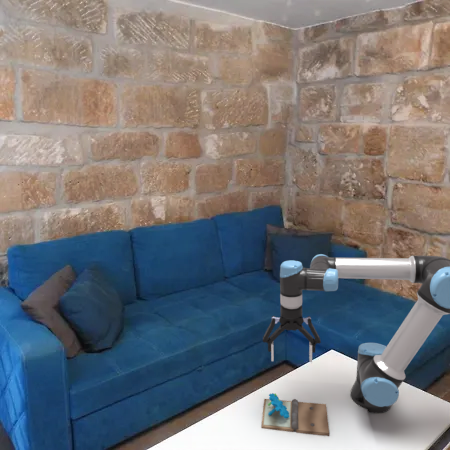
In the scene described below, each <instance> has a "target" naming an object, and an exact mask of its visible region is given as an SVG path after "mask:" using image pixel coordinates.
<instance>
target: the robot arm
mask: <svg viewBox="0 0 450 450" xmlns="http://www.w3.org/2000/svg"><path fill="white" fill-rule="evenodd" d="M309 264H310V265H309V268H308V267H304V266H303V263H302V262H301V261H298V260H294V259H293V260H290V259H289V260H285V261H283V262H282V263H281V264H280V266H279V267H280V270H279V284H280V285H279V287H280V289H279V291H280V293H279V298H280V316H279V317H276V316H275V315H272V316H271V321H270V323H269V326H268V327H267V329H266V331H265V333H264V335H263V336H262V342H263V343H266V344H267V351H268V352H270V353H271V355H270V356H271V359H270V360H271V362H274V359H275V357H274V356H275V355H274V351H275V350H274V341H275V340H276V339H277V338H278V337H279V336H280V335H281V333H282V332H284V331H285V330H286V331H293V332H294V331H297V330H298V331H299V332H300V333H301V334H302V335H303V336H304V337H305V338H306V340H308V341H309V351H308V355H309V357H308V359H309V362H310V363H313V353H316V346H317V344H321V343H322V342H321V337H320V336H319V334H318V332H317V330H316V328H315V326H314V324H313V323H312V322H313V321H312V318H311V316H310V315H309V316H307V317H303V291H319V292H336V291H337V290H338V289H339V279H353V280H354V279H355V280H359V279H362V280H364V279H365V280H397V281H398V280H399V281H402V280H403V281H409V282H410V283H412V284H421V285H420V287H419V288H418V290H417V291H416V296H417V301H416V302H415V303H414V305H413V306H412V308H411V310H410V311H409V312H408V314H407V315H406V317H405V318H404V320H403V321H402V323H401V324H400V326H399V328H398V329H397V331H396V332H395V333H394V335H393V336H392V338H391V340H390V341H389V343H388V344H387V345H384V344H381V343H377V342H365V343H361V344H360V345H359V346H358V351H357V364H356V375H355V377H356V378H355V381H354V383H353V385H352V388H351V390H350V399H351V400H352V402H354V403H355V404H356V405H358V406H359V407H361V408H363V409H366V411H367V412H368V413H372V414H381V413H385V412H387V411H389V410H391V407H392V405H394V404H395V403H396V402H397V401H398V400H399V395H400V391H399V388H400V386H401V385H402V383H403V382H404V381H405V379H406V374H405V370H406V369H407V367H408V366H409V364H410V363H411V361H412V360H413V359H414V357H415V356H416V354H417V353H418V351H420V348H422V347H423V344H424V343H425V342H426V340H427V338H428V337H429V336H430V335H431V333H432V331H433V330H434V329H435V328H436V326H437V325H438V323H439V321H440V320H441V318H442V317H443V316H444V315H450V259H449V258H446V257H444V256H438V255H411V256H409V257H408V258H405V257H404V258H401V257H398V258H396V257H394V258H393V257H390V258H389V257H388V258H387V257H381V258H380V257H332V256H331V257H329V256H328V255H326V254H322V253H320V254H316V255H315V256H314V257H312V260H311V262H310V263H309ZM278 323H280V324H279V326H278V328H276V330H275V331H274V332H273V329H274V328H275V325H276V324H278ZM303 323H305V325H307V326H308V328H309V330H310V331H311V333H312V335H311V334H310V333H309V331H308V330H307V329H306V328H305V327H304V326H303ZM272 332H273V333H272ZM271 333H272V334H271Z"/></svg>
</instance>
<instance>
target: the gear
mask: <svg viewBox="0 0 450 450" xmlns="http://www.w3.org/2000/svg"><path fill="white" fill-rule="evenodd" d="M268 396H269V397H268V399H270V400H271V402H270V403H269V404H268V406H270V405H271V404H272V405H273V406H274V409H273V410H271V411H270V412H269V413H268V414H269V415H271V414H273V413H274V412H275V411H280V415H281V416H283V415H284V418H288V417H290V416H289V415H288V414H289V412H288V411H287V410H286V409H287V408H286V406H284V405H283V402H282V401H280V400H281V399H280V398H279V396H278V395H277V393H273V392H272V393H269V394H268Z"/></svg>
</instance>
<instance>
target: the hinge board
mask: <svg viewBox="0 0 450 450" xmlns="http://www.w3.org/2000/svg"><path fill="white" fill-rule="evenodd" d="M279 400H280V401H282V402H283V405H284V406H286V408H287V409H286V410H287V411H288V412H289V414H288V415H289V416H290V417H288V418H284V415H283V416H281V415H280V411H275V412H274V413H273V414H271V415H269V414H268V413H269V412H270V411H271V410H273V409H274V406H273V405H272V404H271V405H270V406H268V404H269V403H270V402H271V400H270V399H269V398H263V406H262V407H263V408H262V417H261V419H262V420H261V429H264V430H272V431H274V430H275V431H281V432H287V433H288V432H289V433H297V434H306V435H313V436H314V435H317V436H324V437H325V436H326V437H330V428H329V419H328V410H327V403H316V402H305V401H298V399H295V398H293V399H292V400H283V399H282V400H281V399H279Z"/></svg>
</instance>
